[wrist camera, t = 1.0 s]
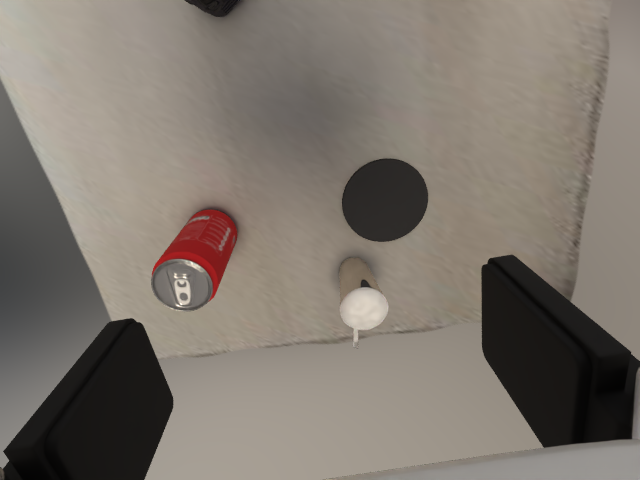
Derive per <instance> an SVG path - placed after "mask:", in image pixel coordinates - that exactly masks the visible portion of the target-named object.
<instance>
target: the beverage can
mask: <svg viewBox="0 0 640 480" xmlns="http://www.w3.org/2000/svg"><path fill="white" fill-rule="evenodd" d="M236 240H237V229H236V226H235V224H234V223H233V221H232V220H231V218H230V217H229V216H228V215H226V214H225V213H223V212H221V211H218V210H203V211H200V212H198V213H196V214H195V215H193V216H192V217H191V219H190V220H189V221H188V222H187V224H186V225H185V226H184V228H183V229H182V230H181V232H180V233H179V234H178V235H177V237H176V238H175V239H174V241H173V242H172V243H171V245H170V246H169V247H168V248H167V250H166V251H165V252H164V254H163V255H162V256H161V257H160V259H159V260H158V261H157V263H156V264H155V266H154V268H153V271H152V279H151V285H152V290H153V292H154V294H155V296H156V297H157V299H158V300H159V301H160V302H161V303H162V304H164V305H165V306H167V307H169V308H171V309H174V310H177V311H194V310H197V309H199V308H201V307H203V306H204V305H205V304H207V303H208V302H209V301H210V300H211V299H212V298H213V297H214V296H215V294H216V292H217V289H218V287H219V284H220V281H221V279H222V276H223V274H224V271H225V269H226V266H227V264H228V261H229V258H230V256H231V253H232V251H233V248H234V246H235V243H236Z"/></svg>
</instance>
